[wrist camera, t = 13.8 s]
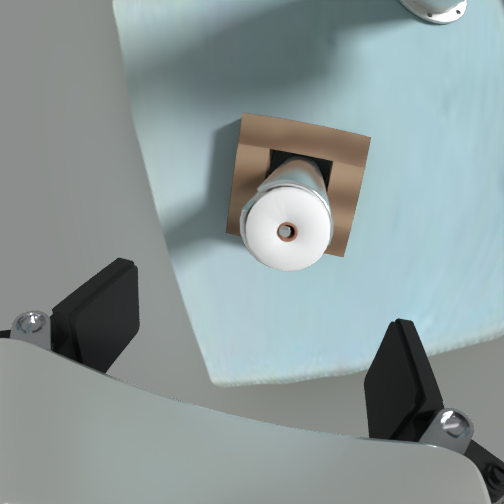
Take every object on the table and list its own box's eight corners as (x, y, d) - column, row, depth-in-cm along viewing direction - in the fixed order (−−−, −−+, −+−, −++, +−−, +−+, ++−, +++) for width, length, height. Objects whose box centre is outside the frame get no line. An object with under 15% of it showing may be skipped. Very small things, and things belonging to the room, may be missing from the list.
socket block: (250, 114, 42) (242, 112, 37) (364, 136, 40) (370, 137, 35) (234, 222, 48) (225, 232, 43) (340, 244, 46) (343, 257, 41)
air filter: (311, 149, 42) (312, 166, 19) (329, 192, 44) (348, 259, 21) (268, 166, 44) (219, 204, 21) (286, 208, 45) (259, 289, 23)
